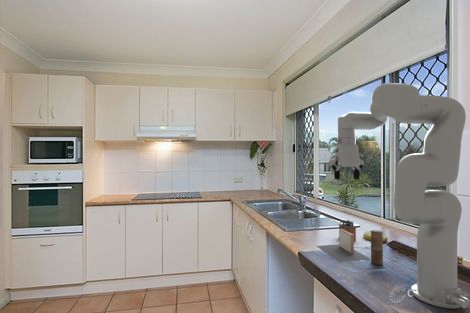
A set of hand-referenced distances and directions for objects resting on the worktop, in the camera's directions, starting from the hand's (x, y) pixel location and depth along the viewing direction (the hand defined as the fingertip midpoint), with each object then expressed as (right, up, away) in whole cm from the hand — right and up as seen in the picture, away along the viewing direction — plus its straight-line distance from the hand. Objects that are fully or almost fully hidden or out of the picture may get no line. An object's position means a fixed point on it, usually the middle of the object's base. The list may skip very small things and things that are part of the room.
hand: (346, 179), depth 124 cm
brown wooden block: (+3, -31, -21) cm, 38 cm away
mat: (-6, -31, -8) cm, 33 cm away
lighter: (+4, -31, +10) cm, 33 cm away
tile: (-3, -31, -6) cm, 31 cm away
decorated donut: (+18, -32, +10) cm, 38 cm away
